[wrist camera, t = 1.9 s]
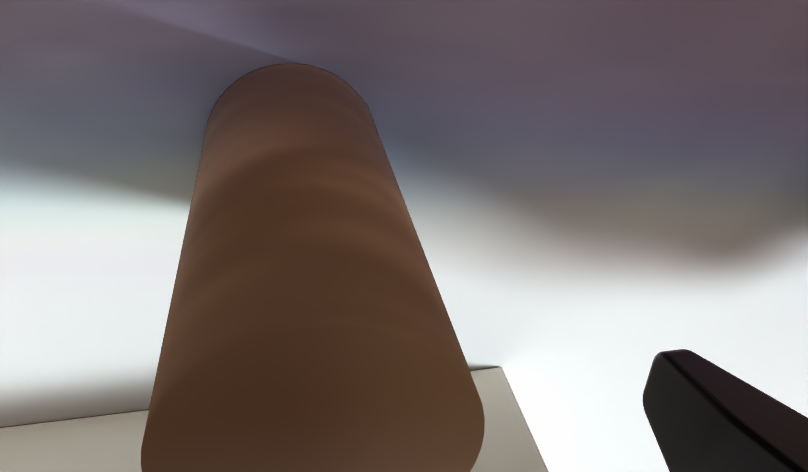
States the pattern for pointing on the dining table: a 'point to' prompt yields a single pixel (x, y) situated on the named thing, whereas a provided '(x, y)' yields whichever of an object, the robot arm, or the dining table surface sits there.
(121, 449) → the bore box
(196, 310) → the peg
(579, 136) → the dining table surface
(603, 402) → the dining table surface
